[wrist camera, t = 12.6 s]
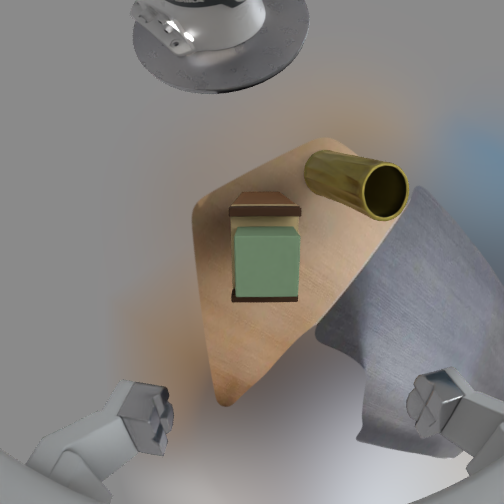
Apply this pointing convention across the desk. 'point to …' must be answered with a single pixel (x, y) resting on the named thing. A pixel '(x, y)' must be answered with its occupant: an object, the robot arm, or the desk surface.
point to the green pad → (266, 261)
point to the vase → (358, 183)
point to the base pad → (261, 214)
